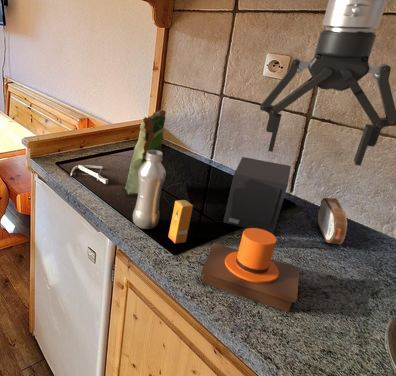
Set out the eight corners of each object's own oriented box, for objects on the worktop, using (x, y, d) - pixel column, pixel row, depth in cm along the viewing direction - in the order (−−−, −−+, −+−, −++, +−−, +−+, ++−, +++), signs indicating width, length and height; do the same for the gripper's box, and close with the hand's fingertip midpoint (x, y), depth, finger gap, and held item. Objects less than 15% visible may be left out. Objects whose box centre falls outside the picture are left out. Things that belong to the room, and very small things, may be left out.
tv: (277, 212, 112) (291, 165, 106) (272, 236, 101) (287, 185, 95) (232, 201, 117) (242, 156, 112) (222, 222, 106) (233, 174, 100)
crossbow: (62, 173, 135) (62, 167, 134) (92, 166, 141) (92, 160, 141) (90, 188, 123) (90, 182, 122) (122, 180, 129) (122, 174, 128)
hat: (280, 262, 84) (289, 231, 80) (276, 289, 76) (286, 256, 72) (229, 248, 88) (236, 218, 85) (220, 272, 80) (228, 240, 77)
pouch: (153, 184, 127) (164, 105, 116) (167, 201, 116) (181, 116, 106) (119, 185, 126) (127, 106, 115) (130, 203, 115) (139, 117, 104)
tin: (341, 251, 95) (353, 220, 92) (326, 248, 96) (337, 217, 93) (326, 221, 108) (335, 193, 105) (312, 219, 109) (322, 191, 106)
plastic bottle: (138, 216, 108) (147, 145, 99) (162, 224, 104) (173, 152, 96) (127, 226, 103) (135, 152, 95) (151, 235, 100) (162, 159, 91)
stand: (294, 282, 84) (299, 267, 82) (291, 314, 75) (297, 297, 74) (210, 257, 92) (213, 242, 90) (199, 283, 83) (202, 267, 81)
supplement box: (187, 242, 97) (194, 205, 93) (174, 244, 96) (181, 207, 92) (180, 235, 100) (186, 199, 96) (167, 236, 99) (173, 200, 95)
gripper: (260, 27, 67) (235, 149, 75) (458, 35, 56) (401, 176, 65) (264, 25, 73) (241, 139, 81) (443, 32, 62) (393, 162, 71)
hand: (312, 156), depth 73 cm, fingers open, 13 cm apart
